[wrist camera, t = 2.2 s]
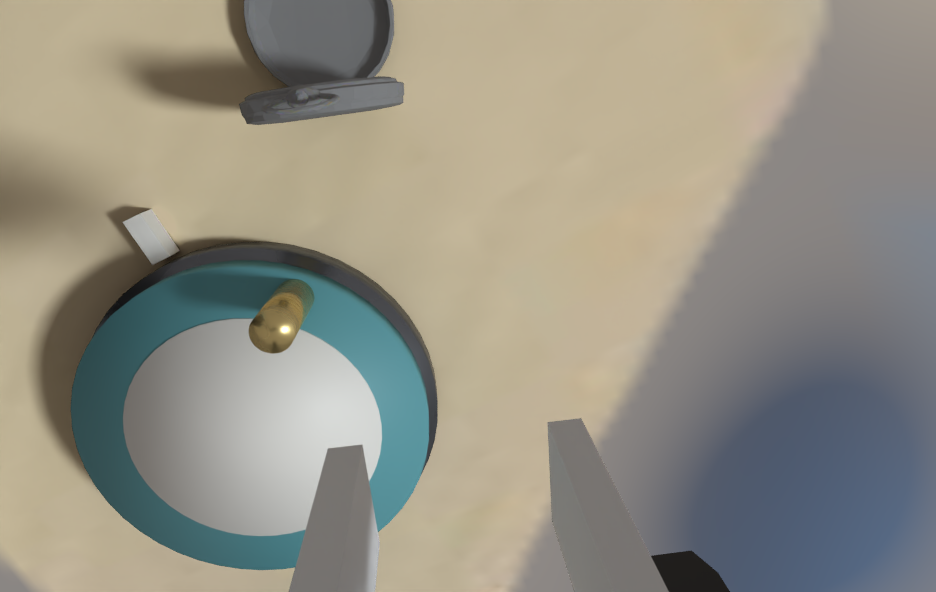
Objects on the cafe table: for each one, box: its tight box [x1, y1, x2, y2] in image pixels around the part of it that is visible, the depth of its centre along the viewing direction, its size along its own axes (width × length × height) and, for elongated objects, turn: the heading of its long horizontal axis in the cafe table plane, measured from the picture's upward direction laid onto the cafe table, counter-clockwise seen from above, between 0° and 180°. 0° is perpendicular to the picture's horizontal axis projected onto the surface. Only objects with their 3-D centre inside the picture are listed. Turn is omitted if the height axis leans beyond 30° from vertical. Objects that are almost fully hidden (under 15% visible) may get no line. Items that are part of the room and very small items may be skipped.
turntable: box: [71, 260, 429, 570], centre depth 28 cm, size 18×18×6 cm
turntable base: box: [93, 209, 437, 474], centre depth 31 cm, size 22×19×2 cm
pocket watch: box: [239, 0, 404, 125], centre depth 22 cm, size 8×8×10 cm
